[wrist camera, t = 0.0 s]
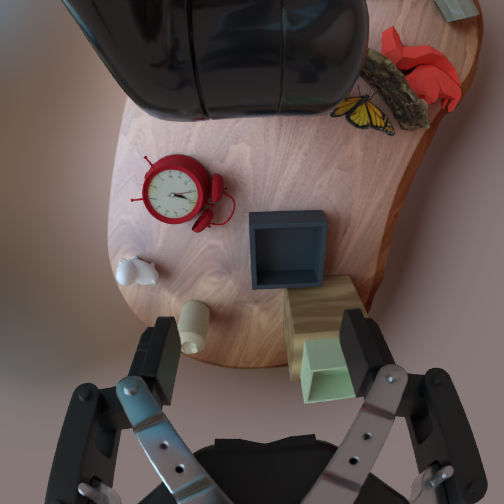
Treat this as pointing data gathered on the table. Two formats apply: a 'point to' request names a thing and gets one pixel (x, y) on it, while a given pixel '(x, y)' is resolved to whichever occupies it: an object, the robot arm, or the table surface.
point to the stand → (316, 315)
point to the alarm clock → (181, 191)
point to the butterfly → (364, 114)
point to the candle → (193, 326)
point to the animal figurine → (424, 70)
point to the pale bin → (324, 372)
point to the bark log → (395, 91)
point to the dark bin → (287, 248)
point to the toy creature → (136, 272)
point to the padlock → (457, 9)
